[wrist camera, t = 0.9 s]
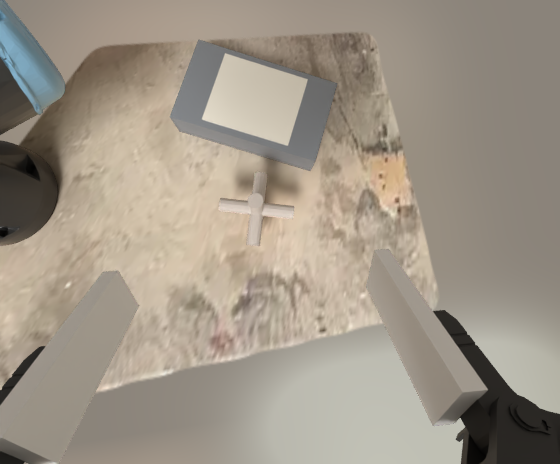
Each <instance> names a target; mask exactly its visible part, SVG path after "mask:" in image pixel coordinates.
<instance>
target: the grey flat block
mask: <svg viewBox="0 0 560 464" xmlns="http://www.w3.org/2000/svg"><path fill="white" fill-rule="evenodd" d="M336 87H337V83H335V82H331V81H328V80H325V79H322V78H319V77H316V76H312V75H309V74H306V73H303V72H300V71H297V70H293V69H290V68H287V67H284V66H281V65H278V64H274V63H271V62H268V61H265V60H262V59H259V58H255V57H252V56H249V55H246V54H243V53H240V52H236V51H233V50H230V49H227V48H224V47H221V46H217V45H214V44H211V43H208V42H205V41H202V40H198V42H197V45H196V48H195V50H194V53H193V56H192V59H191V61H190V64H189V67H188V69H187V72H186V75H185V77H184V80H183V83H182V85H181V88H180V91H179V93H178V96H177V99H176V101H175V104H174V107H173V110H172V112H171V115H170V118H171V119H172V121H173V122H174V124H175V125H176V127H177V128H178V130H179V131H180V132H184V133H187V134H190V135H194V136H197V137H200V138H203V139H207V140H210V141H213V142H217V143H220V144H223V145H226V146H230V147H233V148H236V149H240V150H243V151H246V152H249V153H253V154H256V155H259V156H263V157H266V158H269V159H272V160H276V161H279V162H282V163H286V164H289V165H292V166H295V167H299V168H302V169H305V170H309V171H311V169H312V167H313V165H314V163H315V161H316V157H317V154H318V150H319V147H320V143H321V140H322V136H323V133H324V129H325V125H326V122H327V118H328V115H329V111H330V108H331V104H332V101H333V97H334V94H335V90H336Z"/></svg>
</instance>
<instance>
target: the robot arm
mask: <svg viewBox="0 0 560 464" xmlns="http://www.w3.org/2000/svg"><path fill="white" fill-rule="evenodd" d="M64 92H65V82H64V80H63V78H62V76H61V74H60V72H59V71H58V69H57V68H56V66H55V65H54V64H53V62H52V61H51V59H50V58H49V56H48V55H47V54H46V52H45V51H44V50H43V48H42V47H41V46H40V45H39V43H38V42H37V40H36V39H35V38H34V37H33V35H32V34H31V33H30V32H29V30H28V29H27V28H26V26H25V25H24V24H23V23H22V21H21V20H20V19H19V17H18V16H17V15H16V14H15V13H14V11H13V10H12V9H11V8H10V6H9V5H8V4H7V3H6V2H5V0H0V135H1V134H3V133H5V132H6V131H8V130H10V129H12V128H14V127H16V126H17V125H19V124H21V123H23V122H25V121H26V120H28V119H30V118H32V117H34V116H36V115H37V114H39V115H40V114H41V113H43V110H44V109H45V108H46V107H48V106H49V105H51V104H52V103H54V102H55V101H57V100H58V99H60V98H61V97H62V96H63V94H64ZM56 200H57V183H56V179H55V176H54V173H53V171H52V170H51V168H50V166H49V165H48V164H47V163H46V162H45V161H44V160H43V159H42V158H41V157H40V156H38V155H37V154H35V153H33V152H31V151H29V150H27V149H25V148H22V147H20V146H18V145H15V144H13V143H9V142H5V141H0V246H3V245H10V244H14V243H17V242H20V241H22V240H25V239H27V238H28V237H30V236H32V235H33V234H35V233H36V232H37V231H38V230H39V229H40V228H41V227H42V226H43V225H44V224H45V223H46V222H47V220H48V219H49V217H50V216H51V214H52V212H53V210H54V207H55V204H56ZM366 288H367V290H368V292H369V294H370V296H371V298H372V300H373V302H374V304H375V306H376V308H377V311H378V313H379V315H380V317H381V319H382V321H383V323H384V325H385V327H386V329H387V331H388V333H389V336H390V337H391V340H392V342H393V344H394V346H395V348H396V350H397V352H398V354H399V356H400V358H401V361H402V363H403V364H404V367H405V369H406V371H407V373H408V375H409V377H410V379H411V381H412V383H413V386H414V388H415V390H416V392H417V394H418V396H419V398H420V400H421V402H422V404H423V406H424V408H425V410H426V413H427V415H428V417H429V419H430V421H431V423H432V425H433V426H439V425H449V424H454V423H455V422H456V421H457V420H458V419H459V418H461V420H462V421H463V423H464V425H465V428H464V429H463V430H462V431H461V432H460V433H458V435H457V438H456V440H457V441H459V442H460V441H461V440H462V439H463V449H462V458H461V464H560V414H557V413H553V412H549V411H545V410H543V409H540V408H539V407H537V406H536V405H535V404H534V403H532V402H531V401H529V400H527V399H526V398H524V397H522V396H519V395H517V394H516V393H515V392H514V391H513V390H512V389H511V388H510V387H509V386H508V385H507V383H506V382H505V381H504V379H503V378H502V377H501V376H500V374H499V373H498V372H497V370H496V369H495V368H494V367H493V365H492V364H491V363H490V362H489V360H488V359H487V358H486V356H485V355H484V354H483V353H482V351H481V350H480V349H479V347H478V346H476V345H475V342H474V341H473V340H472V338H471V337H470V336H469V335H467V332H466V331H465V329H464V328H463V327H462V326H461V324H460V323H459V322H458V321H457V320H456V319H455V318H454V317H453V316H451V315H450V314H449V313H447V312H446V311H445V310H442V311H432V309H431V308H430V307H429V305H428V304H427V302H426V301H425V300H424V298H423V297H422V295H421V294H420V292H419V291H418V290H417V288H416V287H415V285H414V284H413V282H412V281H411V280H410V278H409V277H408V275H407V274H406V273H405V271H404V270H403V268H402V267H401V265H400V264H399V263H398V261H397V260H396V258H395V257H394V256H393V254H392V253H391V251H390V250H389V249H380V250H374V254H373V258H372V262H371V267H370V271H369V276H368V280H367V284H366ZM138 307H139V305H138V303H137V301H136V300H135V298H134V296H133V295H132V293H131V291H130V289H129V288H128V286H127V284H126V283H125V281H124V279H123V278H122V276H121V274H120V273H119V271H108V272H102V274H101V275H100V276H99V278H98V279H97V280H96V282H95V283H94V284H93V285H92V287H91V288H90V289H89V291H88V292H87V293H86V295H85V296H84V297H83V298H82V300H81V301H80V302H79V304H78V305H77V306H76V308H75V309H74V310H73V311H72V313H71V314H70V315H69V317H68V318H67V319H66V321H65V322H64V323H63V324H62V326H61V327H60V328H59V330H58V331H57V332H56V334H55V335H54V336H53V338H52V339H51V340H50V341H49V343H48V344H47V345H46V346H41V347H39V348H38V349H36V350H35V351H34V352H33V353H32V354H31V355H29V356H28V357H27V358H26V359H25V360H24V361H23V362H22V363H21V365H20V366H19V367H18V368H17V369H16V371H15V372H14V373H13V374H12V375H13V376H12V377H11V378H9V379H8V381H7V382H6V383H5V384H4V386H3V387H2V390H0V464H24V462H26V463H29V464H59V463H60V461H61V459H62V457H63V455H64V453H65V451H66V449H67V447H68V445H69V443H70V441H71V439H72V437H73V435H74V433H75V431H76V429H77V427H78V425H79V423H80V422H81V420H82V418H83V416H84V414H85V411H86V410H87V408H88V406H89V404H90V402H91V400H92V398H93V396H94V394H95V392H96V390H97V388H98V386H99V384H100V382H101V380H102V378H103V376H104V374H105V372H106V370H107V368H108V366H109V364H110V362H111V360H112V358H113V356H114V355H115V353H116V351H117V349H118V347H119V345H120V343H121V341H122V339H123V337H124V335H125V333H126V331H127V329H128V327H129V325H130V323H131V321H132V319H133V317H134V315H135V313H136V311H137V309H138Z"/></svg>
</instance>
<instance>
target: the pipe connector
mask: <svg viewBox="0 0 560 464" xmlns="http://www.w3.org/2000/svg"><path fill="white" fill-rule="evenodd" d="M266 184H267V174H266V173H264V172H255V174H254V182H253V191H252V194H251V195H250V196H249V197H248V201H243V200H235V199H226V198H220V201H219V211H224V212H233V213H242V214H250V217H249V225H248V234H247V242H246V245H252V246H260V239H261V230H262V221H263V218H264V216H269V217H278V218H287V219H293V215H294V206H288V205H279V204H270V203H264V202H265V193H266Z"/></svg>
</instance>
